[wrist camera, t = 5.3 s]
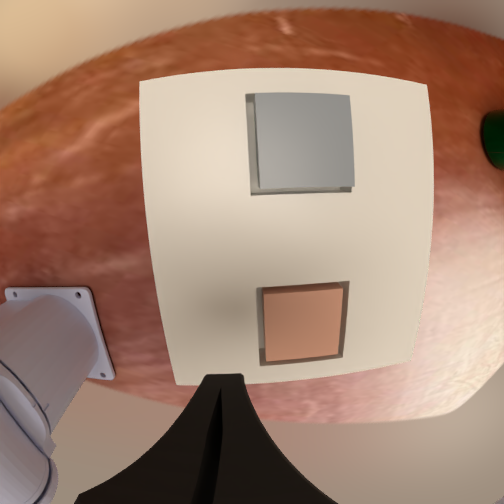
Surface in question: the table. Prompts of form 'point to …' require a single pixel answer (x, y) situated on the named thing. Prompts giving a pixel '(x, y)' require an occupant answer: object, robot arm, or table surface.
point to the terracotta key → (301, 320)
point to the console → (284, 222)
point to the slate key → (303, 140)
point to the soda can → (495, 137)
